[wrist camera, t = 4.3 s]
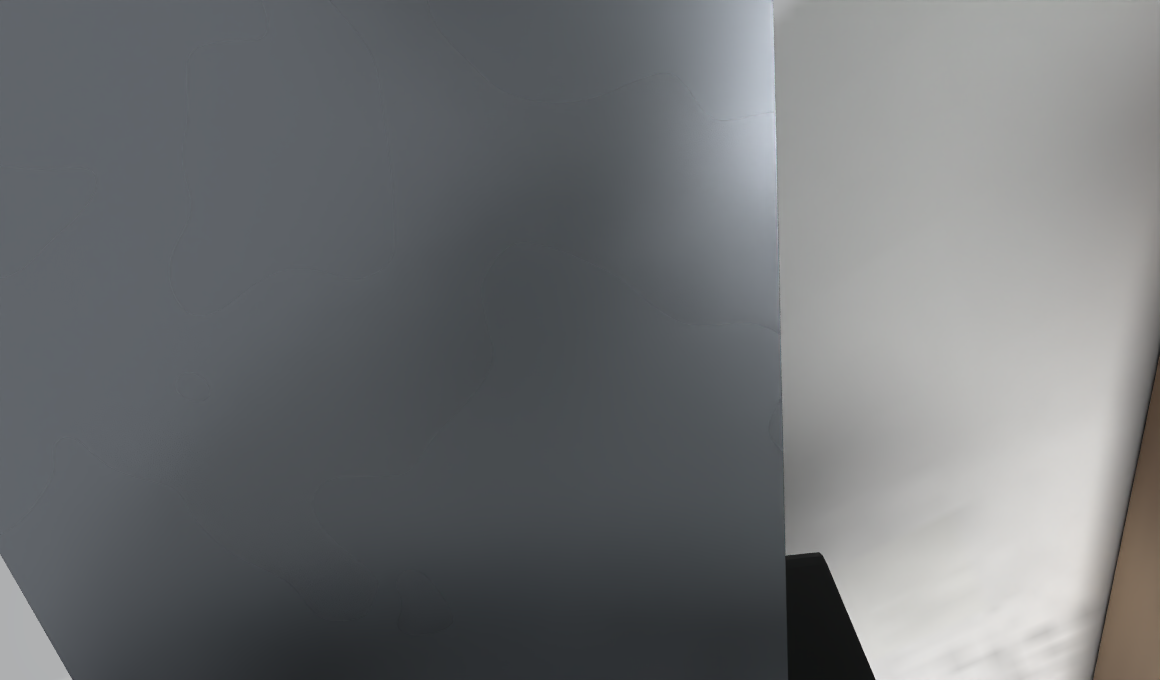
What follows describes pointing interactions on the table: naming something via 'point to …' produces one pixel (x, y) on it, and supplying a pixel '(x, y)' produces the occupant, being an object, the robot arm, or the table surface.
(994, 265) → the table surface
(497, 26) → the matte grey brick
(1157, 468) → the rack
